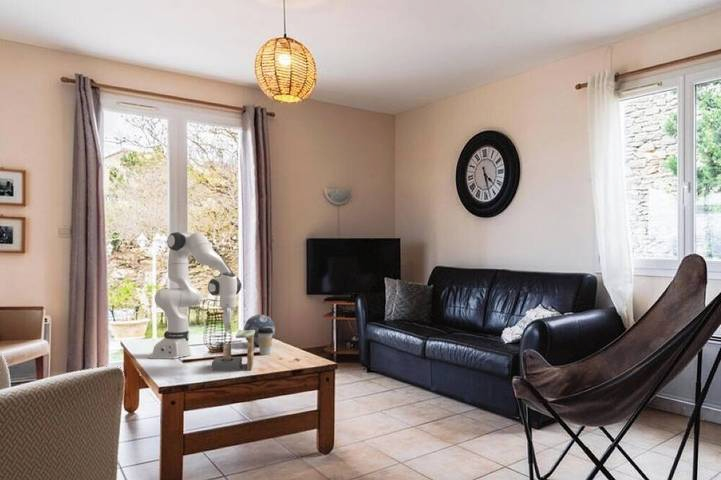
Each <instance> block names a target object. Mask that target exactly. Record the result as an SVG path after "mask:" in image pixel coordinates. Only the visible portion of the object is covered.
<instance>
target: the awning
mask: <svg viewBox="0 0 721 480" xmlns="http://www.w3.org/2000/svg"><path fill="white" fill-rule="evenodd" d="M254 333H255V330H244V329H240V330H238V332H237V333H236V335H235V338H236V339H246V338H248V341H247V349H246V350H247V355H246V359H247V360H246V361H247V362H246V365H247V366H246V371H252V369H253V365H254V358H255V357H254V355H255V354H254V352H255V351H254V350H255V349H254V347H255V345H254Z"/></svg>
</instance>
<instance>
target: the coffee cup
mask: <svg viewBox="0 0 721 480" xmlns="http://www.w3.org/2000/svg"><path fill="white" fill-rule="evenodd" d="M257 333H258V342H259V346H258V350H259V355H260V356H268V355H270V354H271V348H272V341H273V339H272V333H273V330H272V328H260V329H259V331H258V332H257Z"/></svg>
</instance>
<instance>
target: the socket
mask: <svg viewBox="0 0 721 480" xmlns="http://www.w3.org/2000/svg"><path fill="white" fill-rule="evenodd" d="M242 364H243V357H242V356H231V361H223V356H222V357H221V356H220V357H218V356H217V357H214V359H213V361H212V362H211V371H240V370H241V367H242Z"/></svg>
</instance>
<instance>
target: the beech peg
mask: <svg viewBox="0 0 721 480" xmlns="http://www.w3.org/2000/svg"><path fill="white" fill-rule="evenodd" d="M222 346H223V354H222V355H223V356H222V357H223V361H231V357H232V344H231V343H225V344H223V345H222Z"/></svg>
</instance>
